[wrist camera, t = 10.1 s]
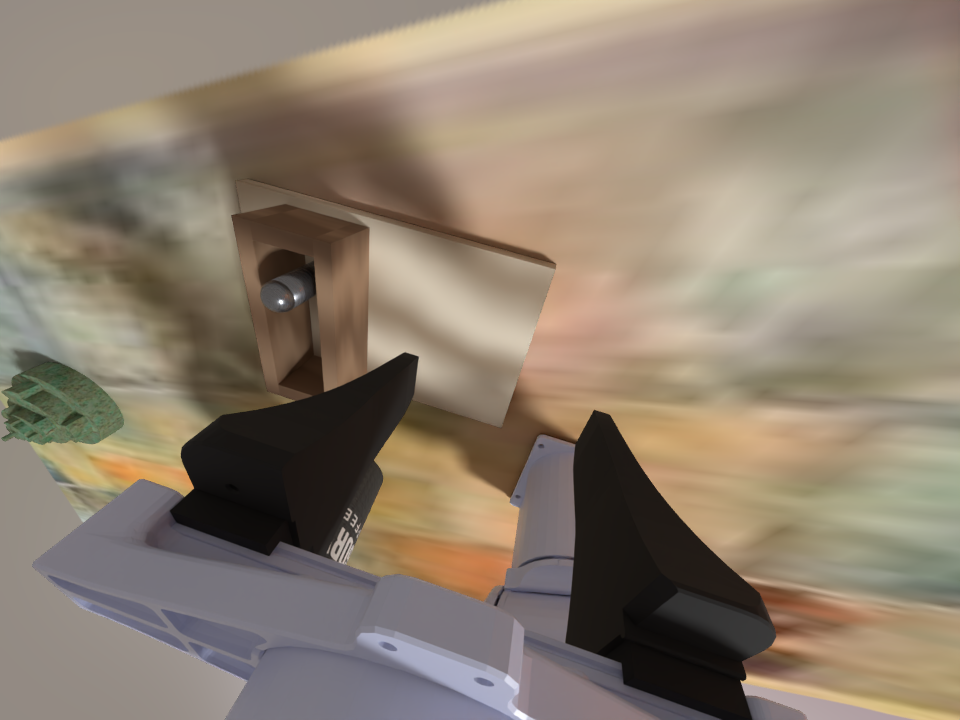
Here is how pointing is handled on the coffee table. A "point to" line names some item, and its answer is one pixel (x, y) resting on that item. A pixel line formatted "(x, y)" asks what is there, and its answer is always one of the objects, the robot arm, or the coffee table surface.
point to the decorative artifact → (59, 407)
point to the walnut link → (340, 298)
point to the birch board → (437, 305)
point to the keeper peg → (289, 289)
